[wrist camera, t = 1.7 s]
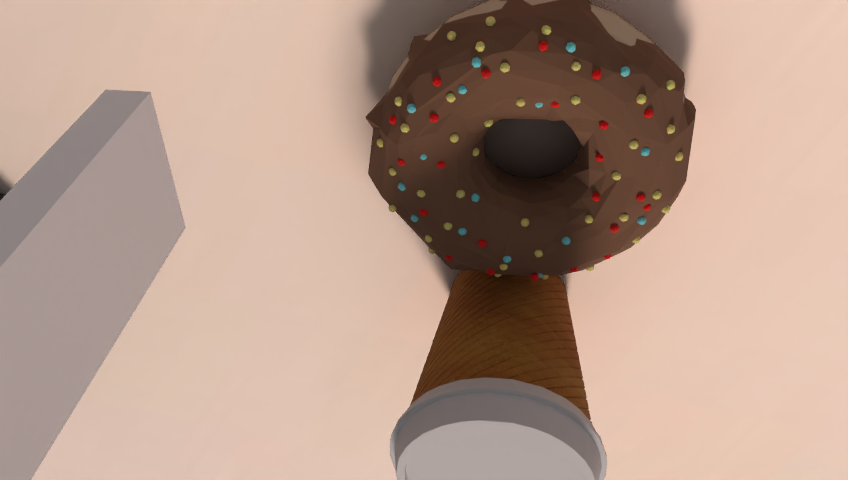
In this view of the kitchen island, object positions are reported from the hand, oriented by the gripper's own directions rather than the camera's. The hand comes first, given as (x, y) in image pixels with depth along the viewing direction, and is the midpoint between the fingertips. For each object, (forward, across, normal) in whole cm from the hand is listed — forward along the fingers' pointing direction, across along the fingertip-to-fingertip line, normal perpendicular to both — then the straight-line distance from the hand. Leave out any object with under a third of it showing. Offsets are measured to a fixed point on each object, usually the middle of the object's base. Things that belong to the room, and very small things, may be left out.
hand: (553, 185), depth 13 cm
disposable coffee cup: (+22, -1, -22) cm, 31 cm away
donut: (+22, -1, -12) cm, 25 cm away
